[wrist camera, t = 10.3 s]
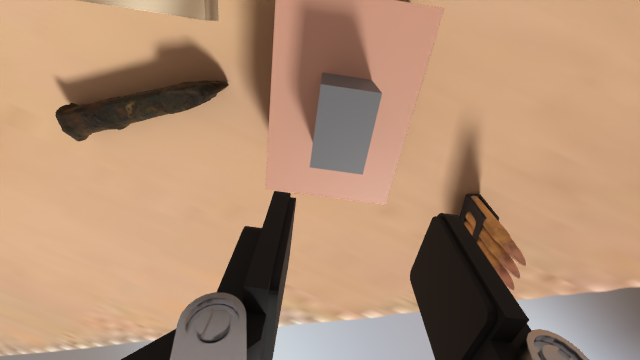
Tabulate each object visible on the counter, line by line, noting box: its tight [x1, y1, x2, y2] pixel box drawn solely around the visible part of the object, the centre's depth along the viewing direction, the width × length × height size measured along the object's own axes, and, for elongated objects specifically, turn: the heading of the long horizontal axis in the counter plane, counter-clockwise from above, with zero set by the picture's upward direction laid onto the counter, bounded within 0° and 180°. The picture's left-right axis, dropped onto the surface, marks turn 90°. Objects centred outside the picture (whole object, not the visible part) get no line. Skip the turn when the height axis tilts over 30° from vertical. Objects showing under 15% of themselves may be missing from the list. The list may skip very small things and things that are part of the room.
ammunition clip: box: [460, 194, 526, 290], centre depth 36 cm, size 11×2×12 cm, turn 0°
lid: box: [266, 0, 444, 205], centre depth 23 cm, size 12×17×7 cm
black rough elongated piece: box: [56, 81, 229, 141], centre depth 32 cm, size 19×4×5 cm, turn 100°
